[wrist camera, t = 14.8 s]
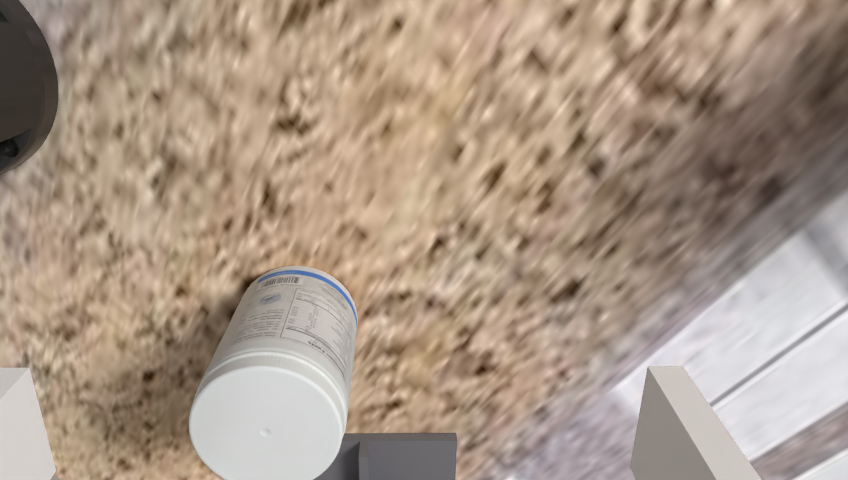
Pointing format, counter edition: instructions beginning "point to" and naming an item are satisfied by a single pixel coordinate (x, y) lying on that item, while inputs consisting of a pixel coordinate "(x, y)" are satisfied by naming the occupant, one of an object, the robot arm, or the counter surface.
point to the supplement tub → (279, 380)
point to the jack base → (394, 457)
